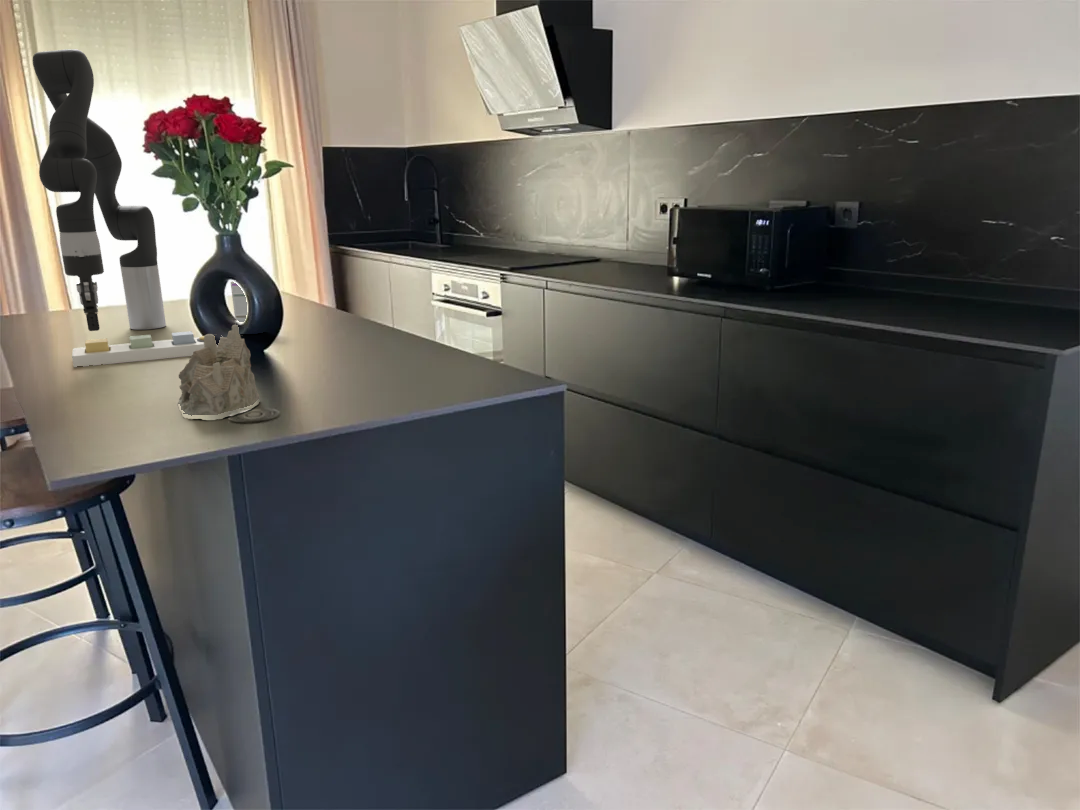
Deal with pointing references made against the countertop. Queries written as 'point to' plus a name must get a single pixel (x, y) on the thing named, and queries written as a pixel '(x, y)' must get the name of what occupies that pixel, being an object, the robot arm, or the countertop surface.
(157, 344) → the button panel
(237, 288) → the syrup box
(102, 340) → the ochre button
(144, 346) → the sage button
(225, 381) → the ceramic cottage
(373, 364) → the countertop surface
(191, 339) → the slate button
